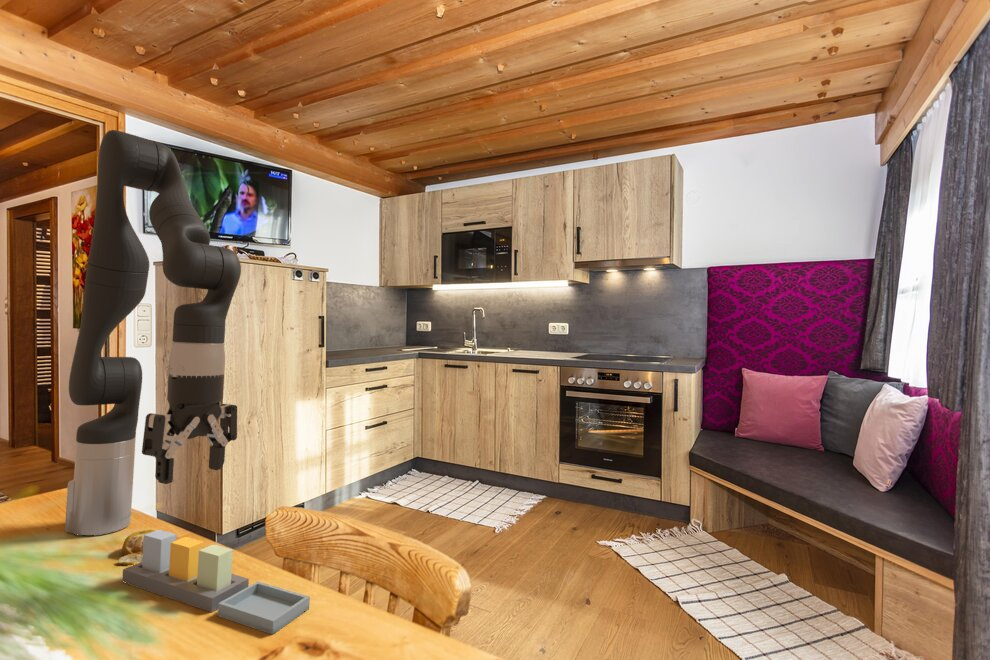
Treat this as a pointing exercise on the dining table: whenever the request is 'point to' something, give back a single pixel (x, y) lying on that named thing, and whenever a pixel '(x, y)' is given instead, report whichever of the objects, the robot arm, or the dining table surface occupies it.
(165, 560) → the block
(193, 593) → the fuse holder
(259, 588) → the tray
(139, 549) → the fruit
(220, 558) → the block
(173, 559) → the block
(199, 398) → the robot arm
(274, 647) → the dining table surface
